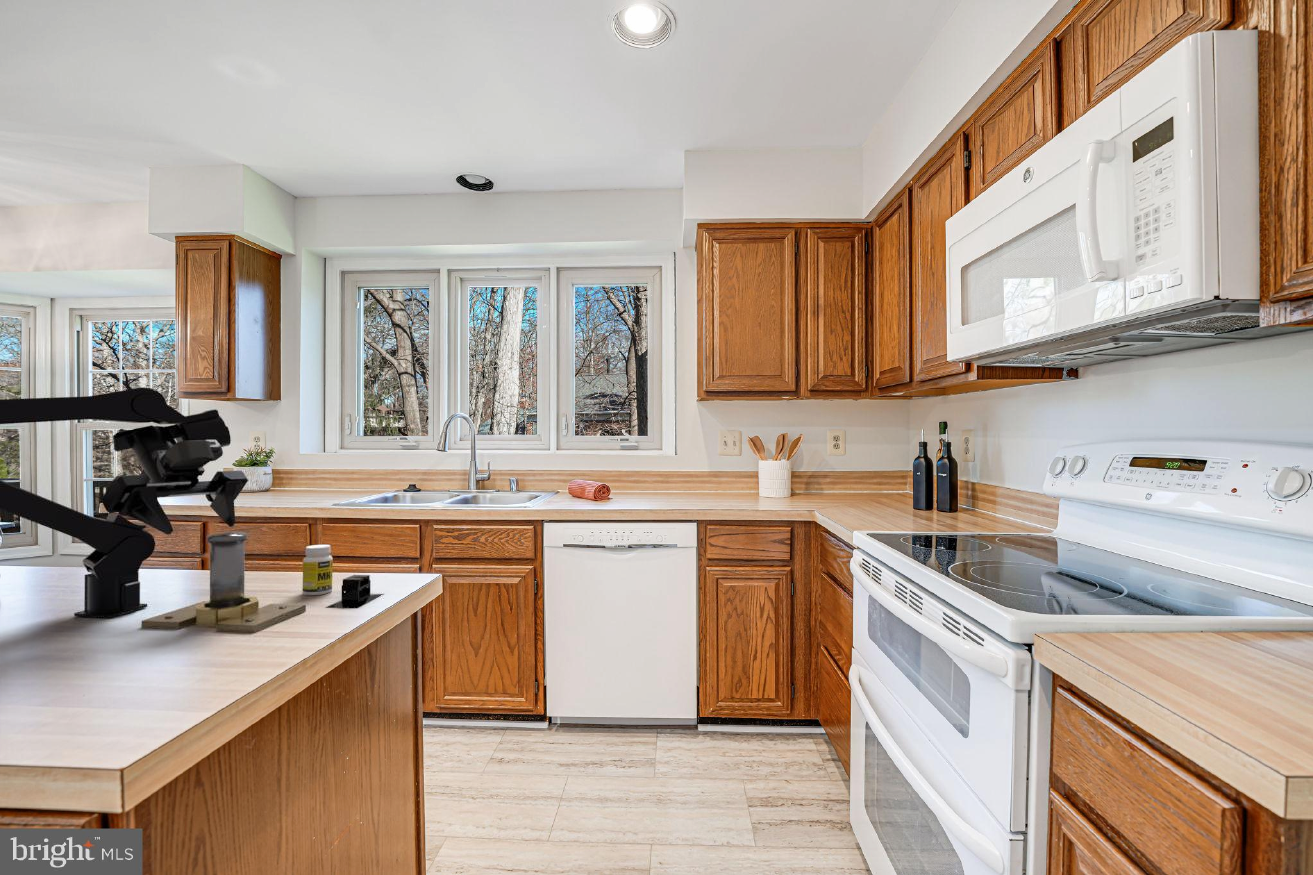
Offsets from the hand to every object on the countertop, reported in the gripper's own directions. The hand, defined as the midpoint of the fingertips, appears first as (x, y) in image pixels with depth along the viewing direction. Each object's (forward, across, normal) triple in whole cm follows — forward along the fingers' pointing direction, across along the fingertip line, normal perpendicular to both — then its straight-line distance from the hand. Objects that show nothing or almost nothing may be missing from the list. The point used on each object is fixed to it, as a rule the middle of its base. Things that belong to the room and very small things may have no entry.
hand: (203, 528), depth 97 cm
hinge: (+14, 0, +6) cm, 15 cm away
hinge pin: (+14, 0, +6) cm, 15 cm away
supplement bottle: (+12, +17, +7) cm, 22 cm away
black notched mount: (+20, +16, 0) cm, 26 cm away
